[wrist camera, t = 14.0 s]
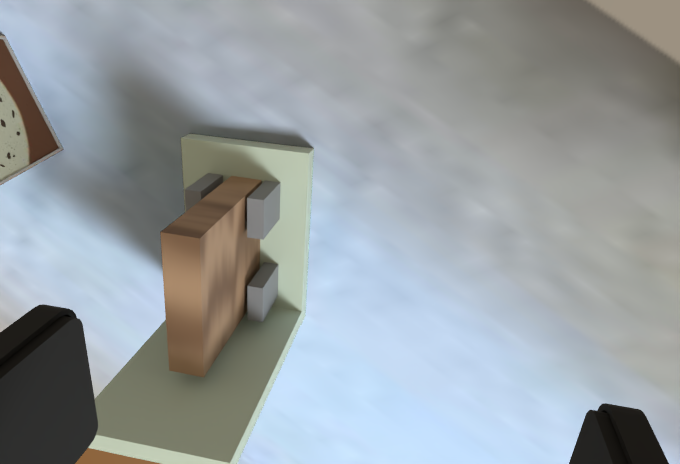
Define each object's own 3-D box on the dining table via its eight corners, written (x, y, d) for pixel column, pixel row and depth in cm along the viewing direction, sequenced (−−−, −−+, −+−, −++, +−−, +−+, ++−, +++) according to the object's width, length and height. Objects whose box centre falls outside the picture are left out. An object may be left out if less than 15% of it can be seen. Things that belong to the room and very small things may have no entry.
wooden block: (224, 174, 40) (150, 230, 30) (261, 180, 39) (199, 238, 30) (225, 286, 44) (160, 368, 34) (258, 292, 44) (203, 377, 34)
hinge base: (189, 133, 41) (27, 214, 25) (313, 148, 39) (224, 244, 24) (197, 297, 47) (71, 445, 31) (305, 315, 45) (230, 480, 30)
